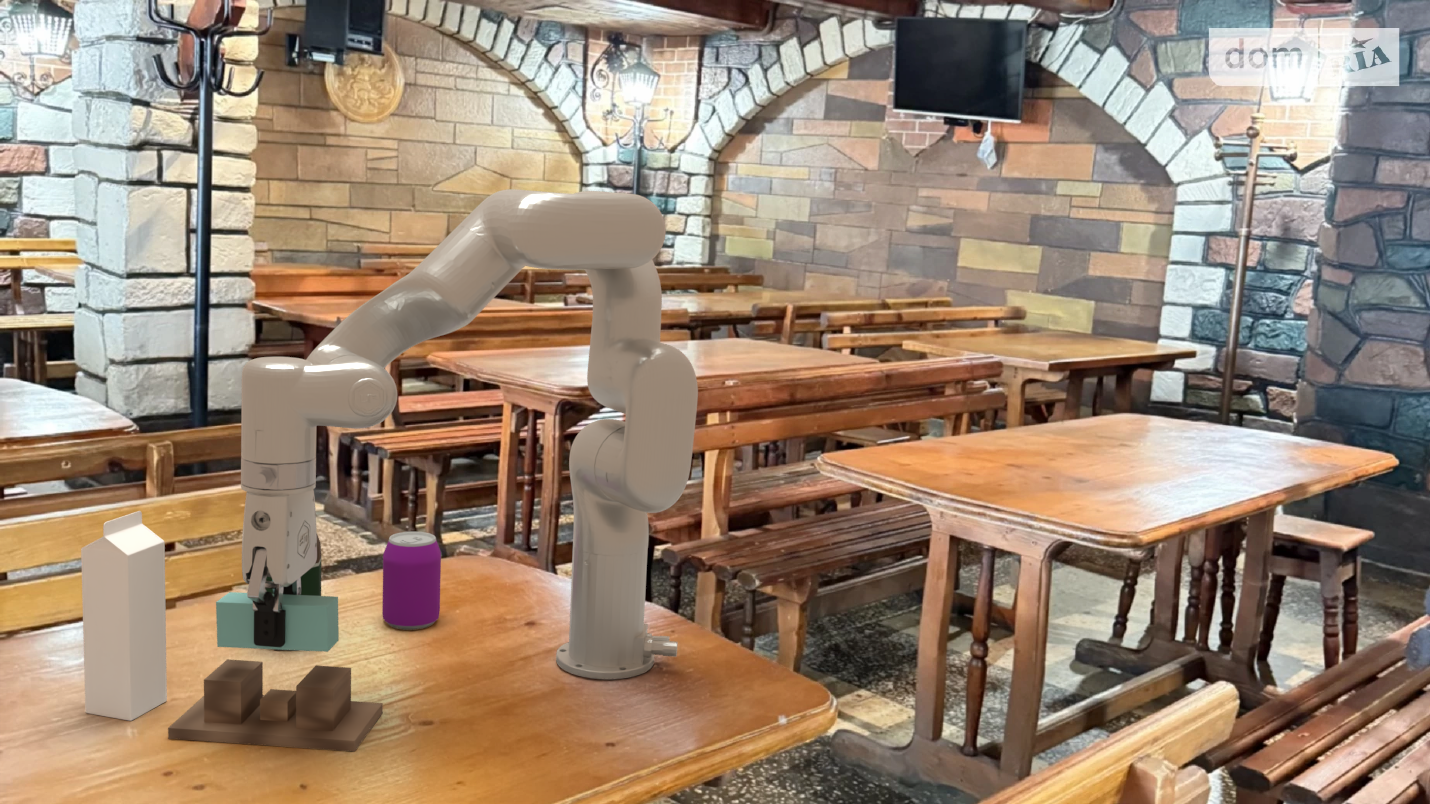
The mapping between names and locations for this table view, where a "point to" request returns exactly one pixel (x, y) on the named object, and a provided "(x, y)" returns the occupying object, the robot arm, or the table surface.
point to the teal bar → (305, 622)
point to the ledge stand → (278, 710)
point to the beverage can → (411, 580)
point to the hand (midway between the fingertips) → (277, 637)
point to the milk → (124, 620)
